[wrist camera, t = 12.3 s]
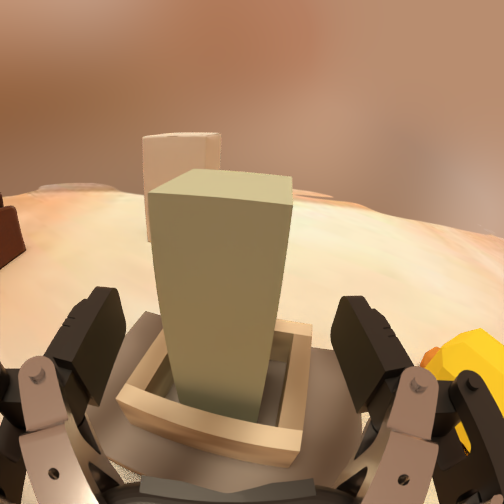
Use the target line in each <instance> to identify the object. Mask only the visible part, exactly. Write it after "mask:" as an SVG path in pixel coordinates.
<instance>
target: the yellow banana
mask: <svg viewBox="0 0 504 504" xmlns="http://www.w3.org/2000/svg"><path fill="white" fill-rule="evenodd" d="M420 366H421V367H422V368H425V369H427V370H429V371H430V372H431V373H432V374H433V375H434V376H435V378H436V379H437V380H447V381H454V380H455V378H456V377H457V376H458V374H459V373H460V372H461V371H463V370H471V371H474V372H476V373H477V374H479V375H480V376H481V377H482V379H483V380H484V382H485V384H486V385H487V387H488V389H489V391H490V392H491V394H492V396H493V398H494V400H495V402H496V403H497V405H498V407H499V409H500V411H501V413H502V415H503V417H504V345H502V344H501V343H500V342H499V341H497V340H496V339H495V338H493V337H492V336H491V335H489V334H488V333H487V332H485V331H484V330H483V329H481V328H479V329H475V330H472V331H468V332H464V333H461V334H459V335H458V336H456V337H455V338H453V339H452V340H450V341H449V342H447V343H445V344H444V345H443V346H442V347H441V348H438V347H434V348H433V349H431V350H430V351H428V352H426V353H425V355H424V357H423V359H422V361H421V364H420ZM455 429H456V432H457V434H458V437H459V439H460V441H461V442H462V443H463V444H464V446H465V447H466V449H467V450H468V452H469V453H470V450H471V444H470V441H469V439H468V436H467V434H466V432H465V429H464V427H463V425H462V422H460V423H459V424H458V425H457V426H455Z"/></svg>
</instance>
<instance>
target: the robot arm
mask: <svg viewBox="0 0 504 504" xmlns="http://www.w3.org/2000/svg"><path fill="white" fill-rule="evenodd" d="M67 317H68V318H66V319H65V321H64V323H63V324H62V326H61V327H60V329H59V330H58V332H57V334H56V335H55V337H54V339H53V340H52V342H51V344H50V345H49V347H48V349H47V350H46V352H45V354H44V355H43V356H36V357H32V358H30V359H28V360H27V361H26V362H25V363H24V364H23V365H22V366H21V368H20V369H5V368H4V367H3V365H2V364H1V362H0V413H1V414H2V415H3V416H4V417H3V420H2V423H1V425H0V504H21V498H22V492H23V486H24V480H25V475H26V471H27V473H28V476H29V479H30V482H31V485H32V488H33V490H34V493H35V496H36V498H37V501H38V503H39V504H423V503H424V500H425V498H426V495H427V491H428V488H429V485H430V482H431V478H433V481H434V485H435V488H436V492H437V496H438V500H439V504H504V417H503V415H502V413H501V411H500V409H499V407H498V405H497V403H496V402H495V400H494V398H493V396H492V394H491V392H490V391H489V389H488V387H487V385H486V384H485V382H484V380H483V379H482V377H481V376H480V375H479V374H477V373H476V372H474V371H471V370H463V371H461V372H460V373H459V374H458V376H457V377H456V378H455V380H454V381H447V380H437V379H436V378H435V376H434V375H433V374H432V373H431V372H430V371H429V370H427V369H425V368H422V367H418V366H414V365H413V363H412V361H411V360H410V358H409V356H408V354H407V353H406V351H405V349H404V348H403V346H402V344H401V343H400V341H399V339H398V338H397V337H396V334H395V333H394V331H393V330H392V329H391V326H390V325H389V323H388V322H387V320H386V318H385V317H384V316H383V315H382V314H380V313H379V312H378V311H377V310H376V309H371V307H370V306H369V304H368V303H367V301H366V299H365V298H364V297H363V296H343V297H342V298H341V299H340V302H339V305H338V308H337V312H336V315H335V318H334V321H333V324H332V327H331V334H330V335H331V343H332V346H333V349H334V351H335V354H336V357H337V360H338V362H339V365H340V368H341V370H342V373H343V376H344V379H345V381H346V384H347V387H348V390H349V393H350V396H351V398H352V401H353V404H354V407H355V410H356V413H357V414H359V413H364V412H369V415H370V418H369V419H368V421H367V423H366V426H365V428H364V430H363V433H362V435H361V437H360V439H359V442H358V444H357V446H356V448H355V450H354V452H353V454H352V456H351V459H350V460H349V462H348V464H347V466H346V467H345V468H344V470H343V471H342V472H341V473H340V475H339V476H338V478H337V479H336V481H335V482H334V484H333V486H332V488H330V487H326V486H320V485H314V479H313V478H310V479H303V480H295V481H287V482H276V483H270V484H266V485H263V486H259V487H255V488H251V489H247V490H243V491H238V492H234V493H222V492H218V491H214V490H210V489H207V488H203V487H199V486H196V485H193V484H190V483H187V482H183V481H177V480H169V479H162V478H156V477H150V476H145V475H141V482H134V483H127V484H124V482H123V481H122V479H121V477H120V476H119V474H118V473H117V471H116V470H115V469H114V467H113V466H112V465H111V463H110V462H109V460H108V459H107V457H106V455H105V453H104V451H103V449H102V447H101V445H100V443H99V441H98V439H97V436H96V434H95V432H94V429H93V427H92V425H91V422H90V420H89V417H88V415H87V413H86V412H85V411H86V408H87V406H88V404H89V405H92V406H96V407H99V406H100V403H101V400H102V397H103V394H104V391H105V388H106V385H107V383H108V380H109V377H110V374H111V371H112V369H113V366H114V363H115V361H116V358H117V355H118V353H119V350H120V348H121V345H122V343H123V340H124V337H125V333H126V321H125V317H124V314H123V310H122V306H121V302H120V297H119V293H118V291H117V289H116V288H109V287H98V286H97V287H95V288H94V290H93V291H92V293H91V294H90V296H89V297H88V299H83V300H82V301H81V302H79V303H78V304H77V305H75V306H74V307H73V309H72V310H71V312H70V313H69V315H68V316H67ZM460 422H462V425H463V427H464V429H465V432H466V434H467V436H468V439H469V441H470V444H471V450H470V453H469V455H468V456H466V454H465V452H464V449H463V447H462V444H461V442H460V439H459V437H458V434H457V432H456V429H455V426H457V425H458V424H459V423H460Z"/></svg>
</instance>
